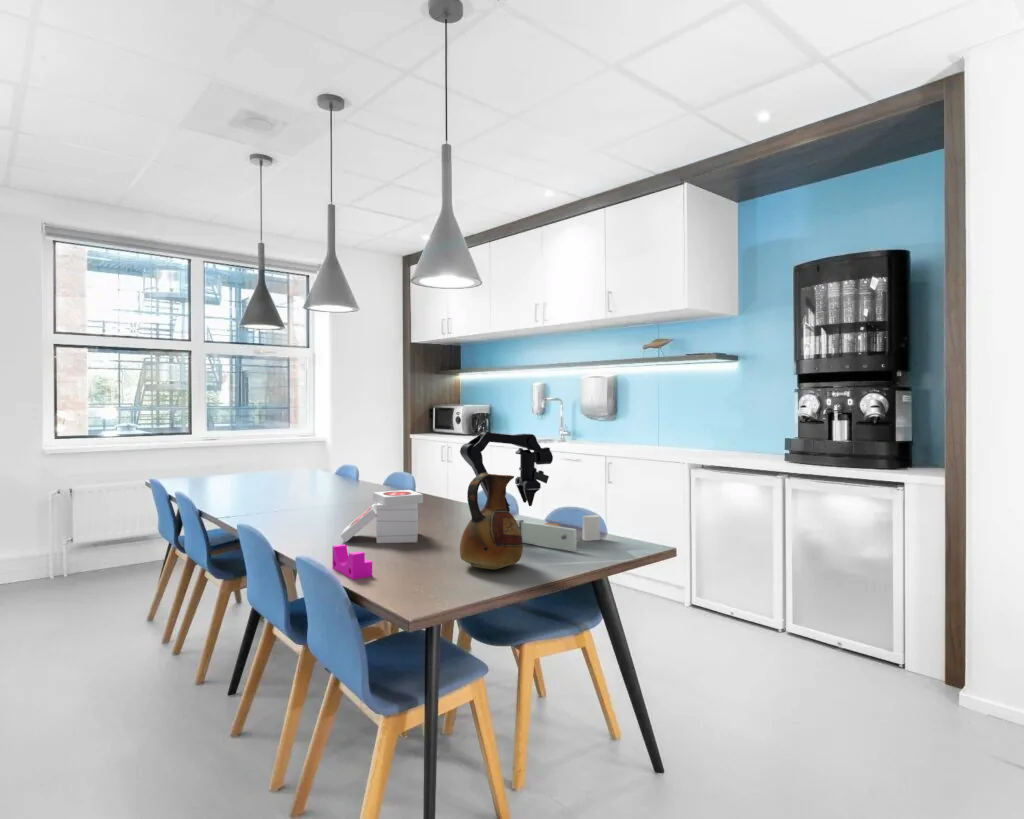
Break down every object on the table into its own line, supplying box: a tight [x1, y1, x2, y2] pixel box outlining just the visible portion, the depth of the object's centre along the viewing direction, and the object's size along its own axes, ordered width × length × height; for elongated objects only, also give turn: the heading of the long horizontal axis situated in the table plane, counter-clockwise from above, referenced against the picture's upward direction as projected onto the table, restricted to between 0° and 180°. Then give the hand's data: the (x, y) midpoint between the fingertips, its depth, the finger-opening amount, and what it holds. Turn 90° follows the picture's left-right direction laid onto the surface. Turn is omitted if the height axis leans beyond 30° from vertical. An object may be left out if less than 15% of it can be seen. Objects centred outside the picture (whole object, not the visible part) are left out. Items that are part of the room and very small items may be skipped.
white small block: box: [514, 514, 601, 542], centre depth 233 cm, size 33×3×9 cm, turn 102°
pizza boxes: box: [340, 489, 424, 544], centre depth 234 cm, size 19×30×18 cm, turn 98°
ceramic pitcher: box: [459, 472, 524, 571], centre depth 196 cm, size 20×20×30 cm
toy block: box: [331, 543, 373, 581], centre depth 189 cm, size 15×6×8 cm, turn 39°
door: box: [519, 519, 577, 552], centre depth 222 cm, size 25×3×8 cm, turn 51°
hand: (527, 504), depth 246 cm, fingers open, 9 cm apart
